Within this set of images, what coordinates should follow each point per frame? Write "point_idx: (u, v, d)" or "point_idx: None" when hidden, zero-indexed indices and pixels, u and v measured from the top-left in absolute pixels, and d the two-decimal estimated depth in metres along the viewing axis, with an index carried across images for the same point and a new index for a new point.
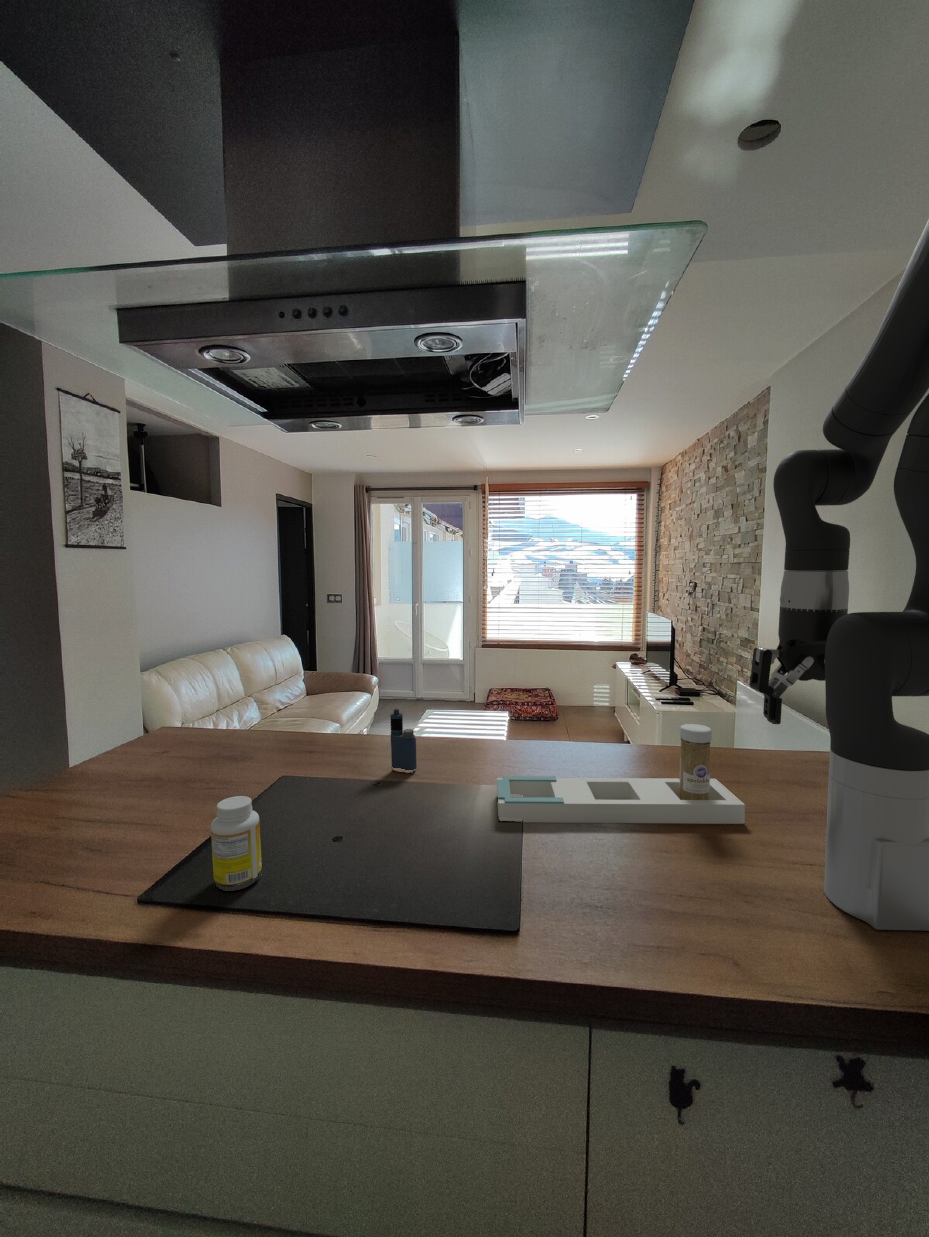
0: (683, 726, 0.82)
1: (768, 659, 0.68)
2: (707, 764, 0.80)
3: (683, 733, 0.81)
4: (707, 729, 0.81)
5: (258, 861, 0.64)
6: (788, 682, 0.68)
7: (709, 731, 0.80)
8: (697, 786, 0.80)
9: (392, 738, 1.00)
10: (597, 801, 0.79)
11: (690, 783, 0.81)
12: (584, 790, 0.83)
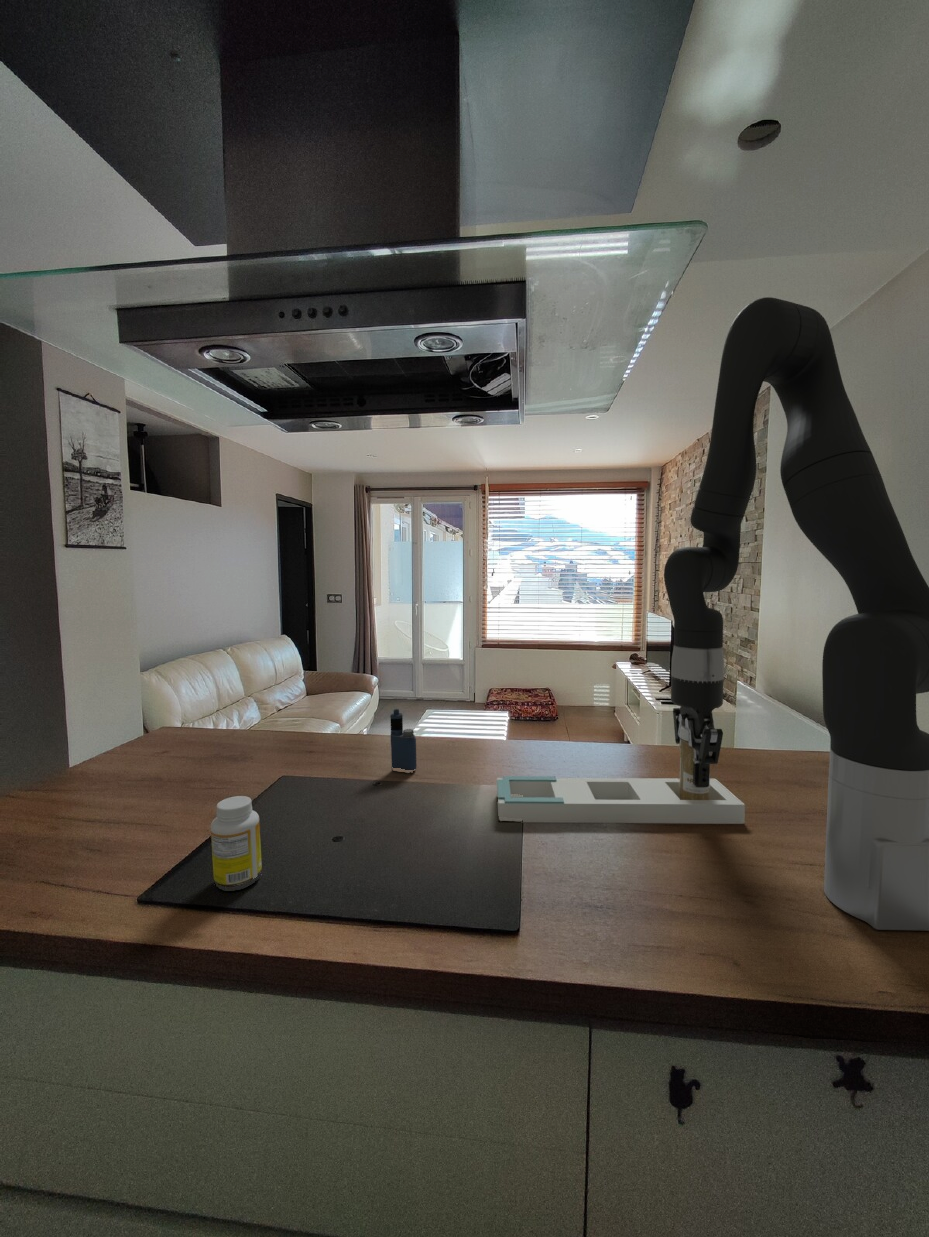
0: (683, 726, 0.82)
1: None
2: None
3: (683, 733, 0.81)
4: None
5: (258, 861, 0.64)
6: None
7: None
8: None
9: (392, 738, 1.00)
10: (597, 801, 0.79)
11: (690, 783, 0.81)
12: (584, 790, 0.83)
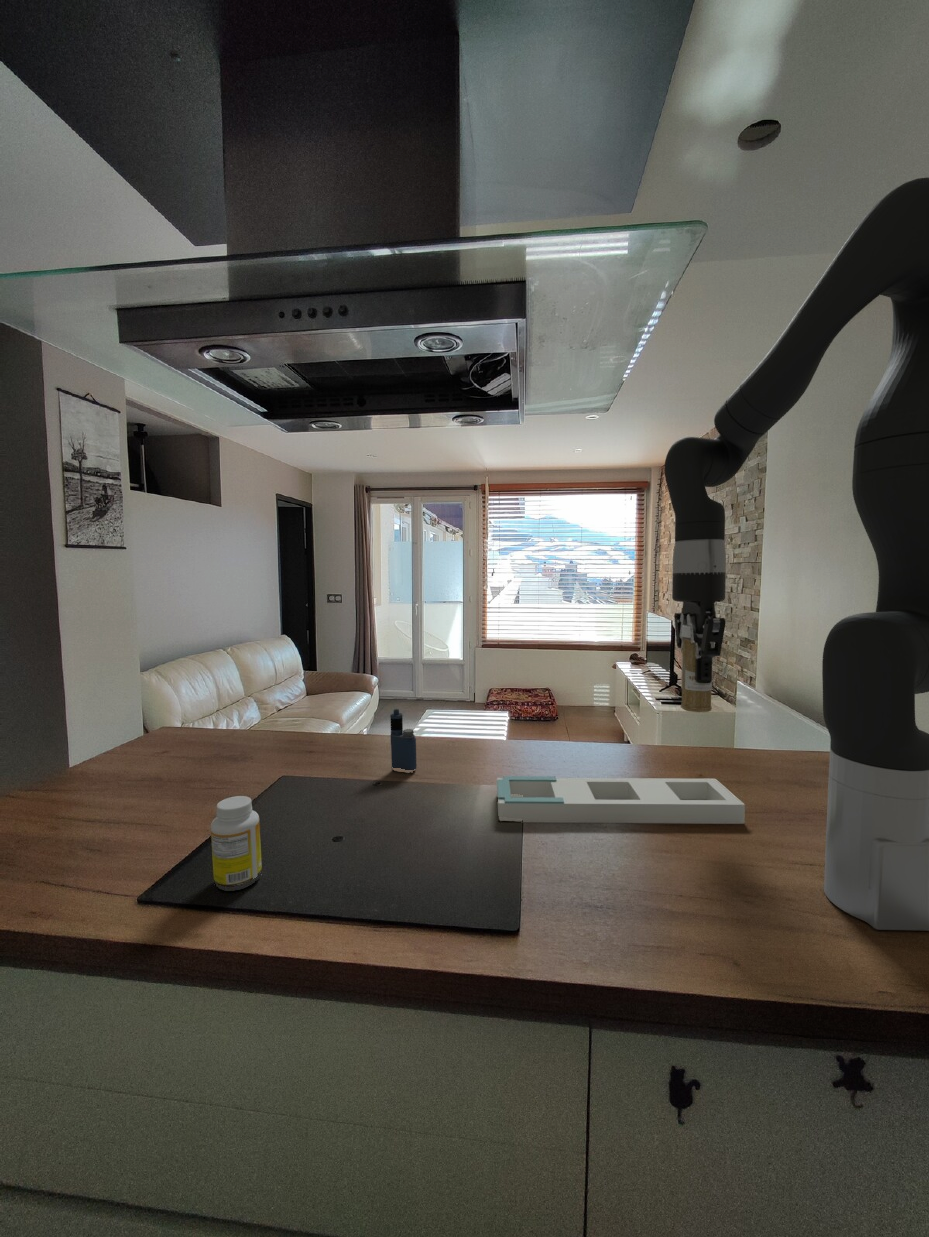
0: (685, 625, 0.81)
1: None
2: None
3: (685, 631, 0.80)
4: None
5: (258, 861, 0.64)
6: (714, 641, 0.78)
7: None
8: (699, 683, 0.79)
9: (392, 738, 1.00)
10: (597, 801, 0.79)
11: (692, 681, 0.79)
12: (584, 790, 0.83)
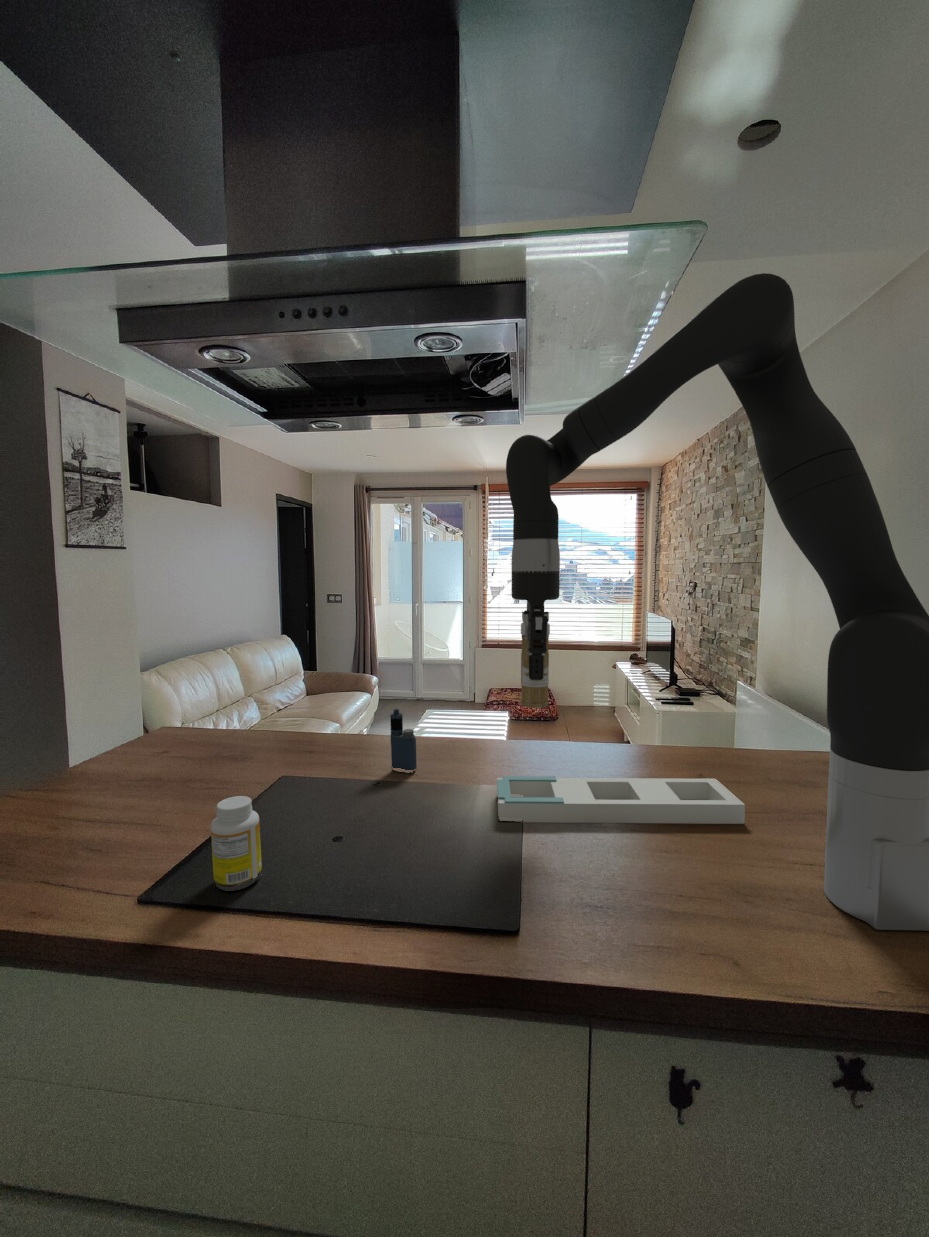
0: None
1: None
2: None
3: (521, 628, 0.81)
4: None
5: (258, 861, 0.64)
6: None
7: None
8: None
9: (392, 738, 1.00)
10: (597, 801, 0.79)
11: (527, 677, 0.81)
12: (584, 790, 0.83)
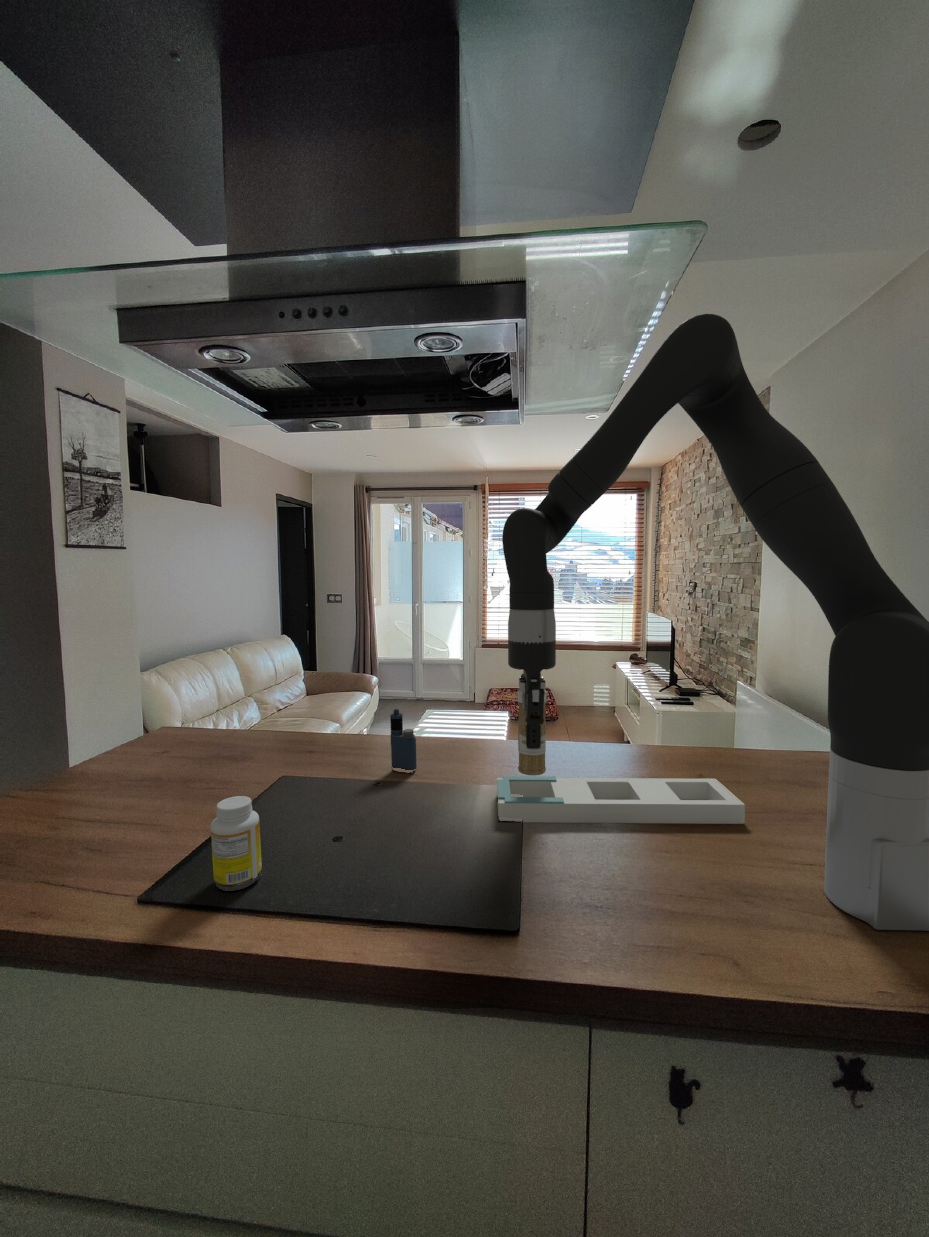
0: None
1: None
2: None
3: (518, 696, 0.82)
4: None
5: (258, 861, 0.64)
6: None
7: None
8: None
9: (392, 738, 1.00)
10: (597, 801, 0.79)
11: (524, 745, 0.81)
12: (584, 790, 0.83)
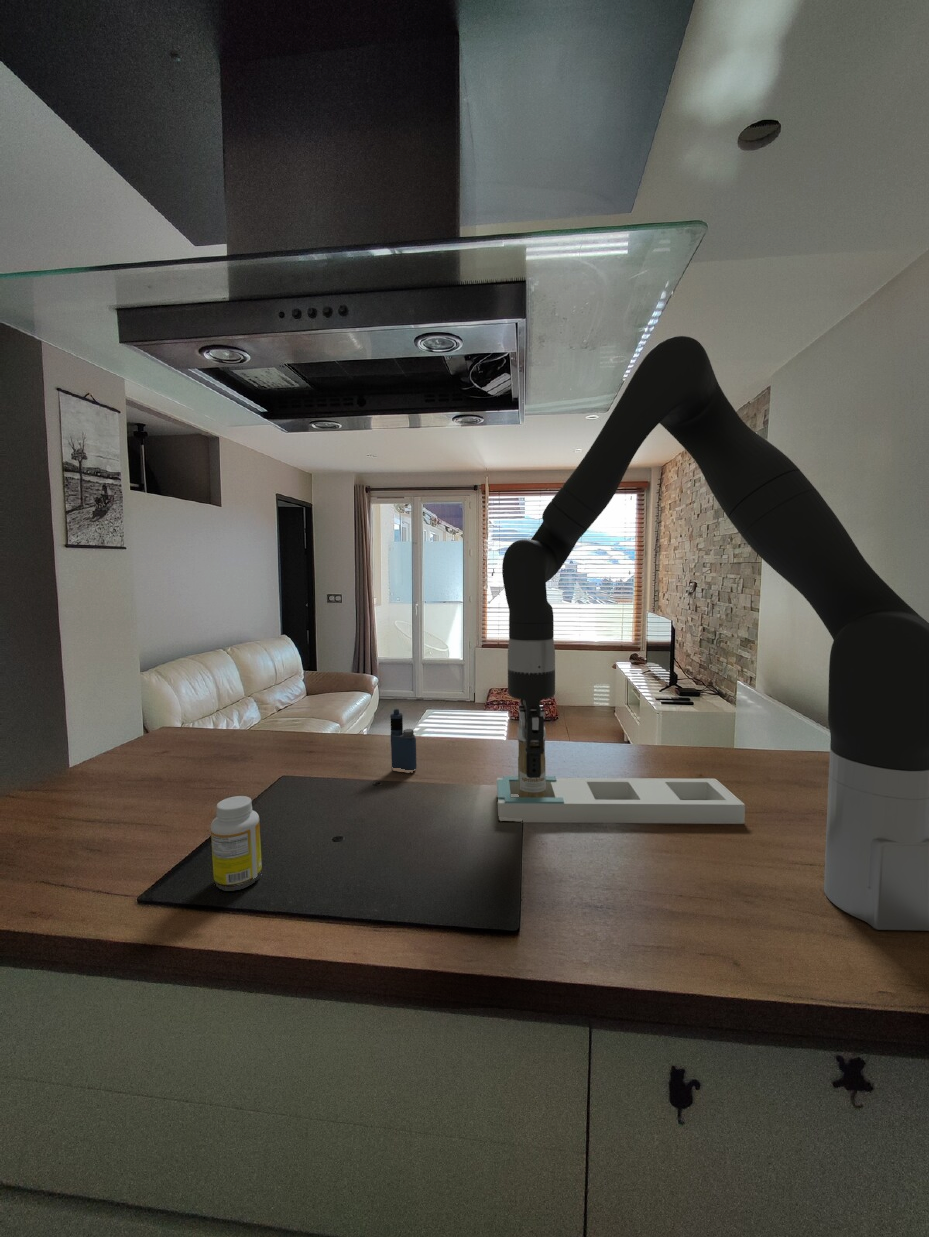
0: (520, 726, 0.83)
1: None
2: None
3: (518, 733, 0.82)
4: None
5: (258, 861, 0.64)
6: None
7: None
8: (530, 785, 0.81)
9: (392, 738, 1.00)
10: (597, 801, 0.79)
11: (524, 783, 0.82)
12: (584, 790, 0.83)
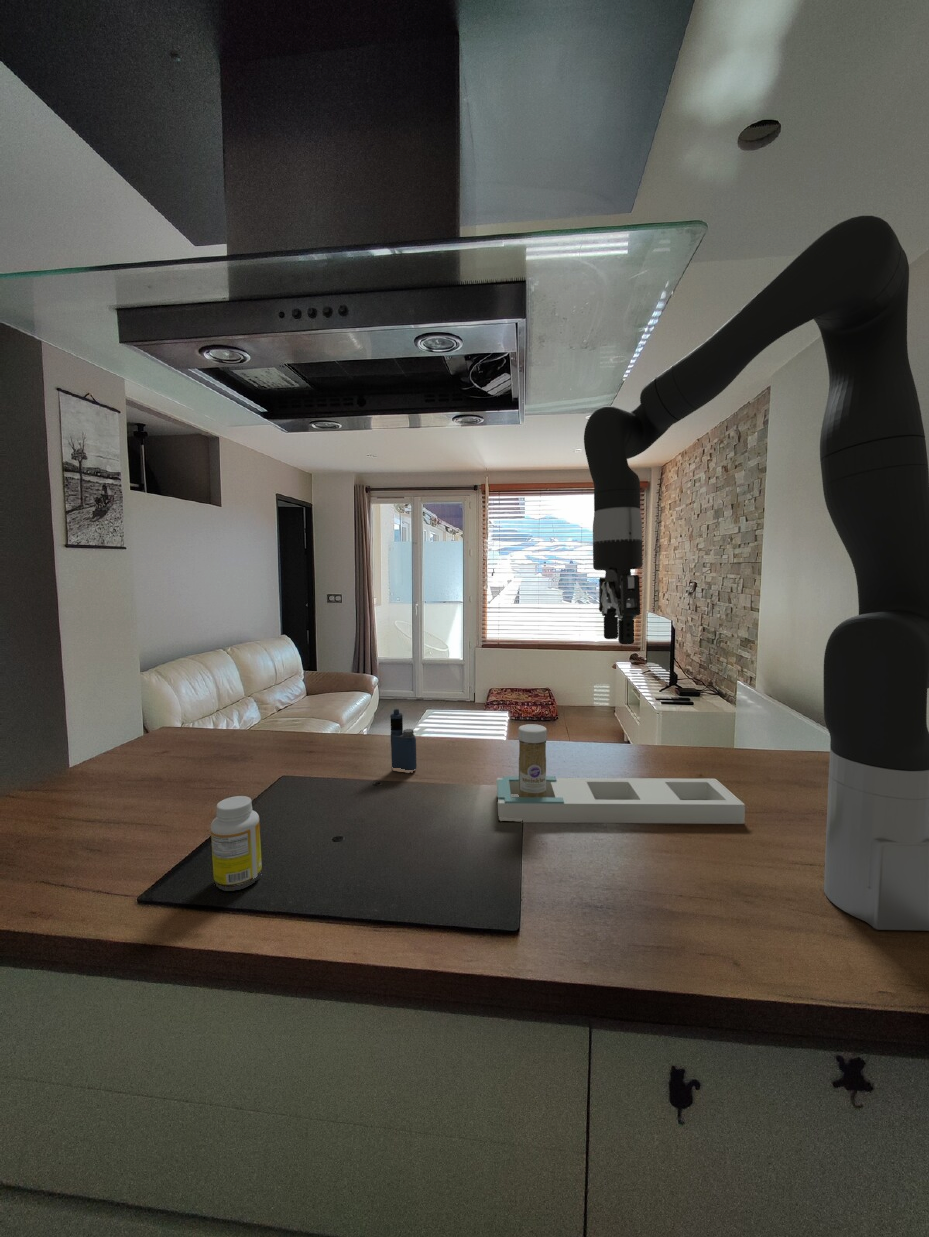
0: (521, 726, 0.83)
1: None
2: (541, 764, 0.81)
3: (519, 733, 0.82)
4: (541, 729, 0.82)
5: (258, 861, 0.64)
6: None
7: (542, 731, 0.81)
8: (531, 786, 0.81)
9: (392, 738, 1.00)
10: (597, 801, 0.79)
11: (525, 783, 0.82)
12: (584, 790, 0.83)
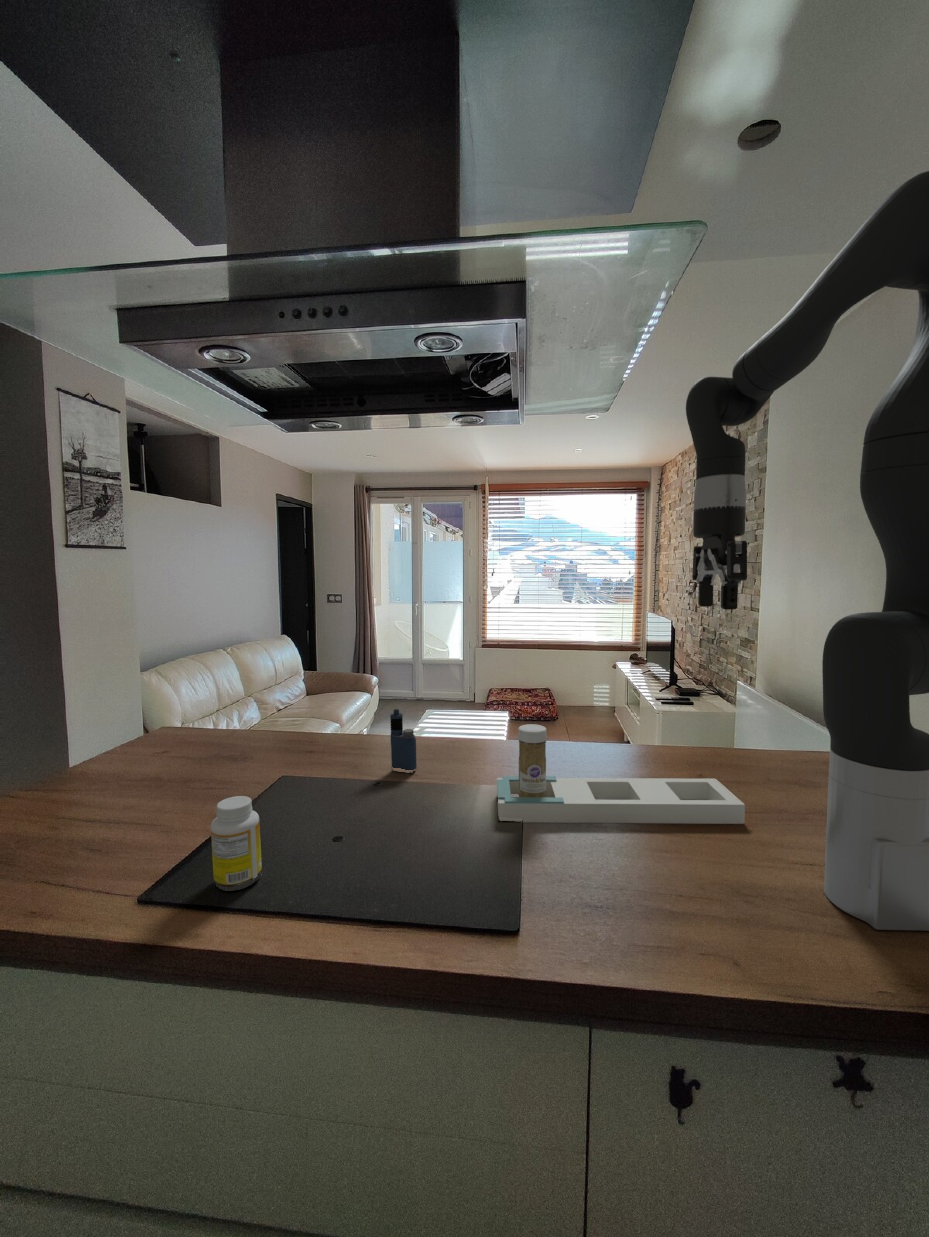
0: (521, 726, 0.83)
1: None
2: (541, 764, 0.81)
3: (519, 733, 0.82)
4: (541, 729, 0.82)
5: (258, 861, 0.64)
6: (738, 570, 0.80)
7: (542, 731, 0.81)
8: (530, 786, 0.81)
9: (392, 738, 1.00)
10: (597, 801, 0.79)
11: (525, 783, 0.82)
12: (584, 790, 0.83)
